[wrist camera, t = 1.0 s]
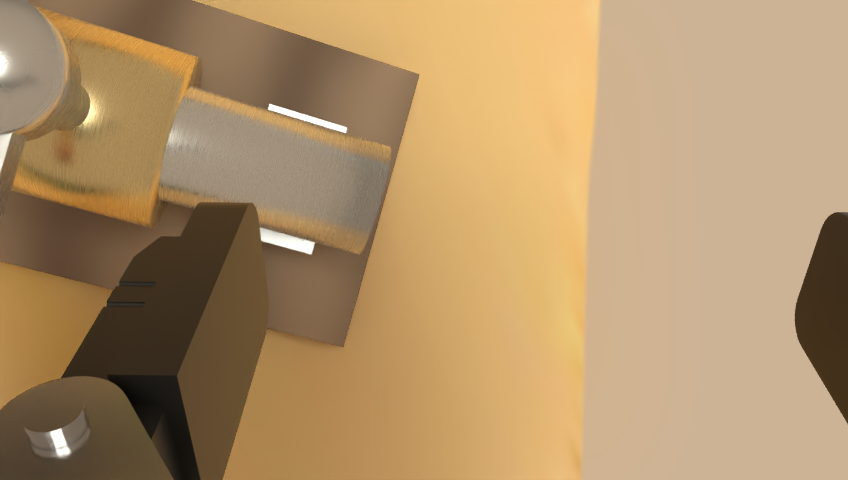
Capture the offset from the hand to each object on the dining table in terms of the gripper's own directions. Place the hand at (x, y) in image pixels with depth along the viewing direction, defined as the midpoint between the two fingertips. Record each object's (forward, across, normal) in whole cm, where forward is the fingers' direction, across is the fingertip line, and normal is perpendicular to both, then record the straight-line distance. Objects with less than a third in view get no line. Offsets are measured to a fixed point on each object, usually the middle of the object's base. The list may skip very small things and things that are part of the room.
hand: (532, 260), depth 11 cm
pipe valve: (+18, +14, +7) cm, 24 cm away
